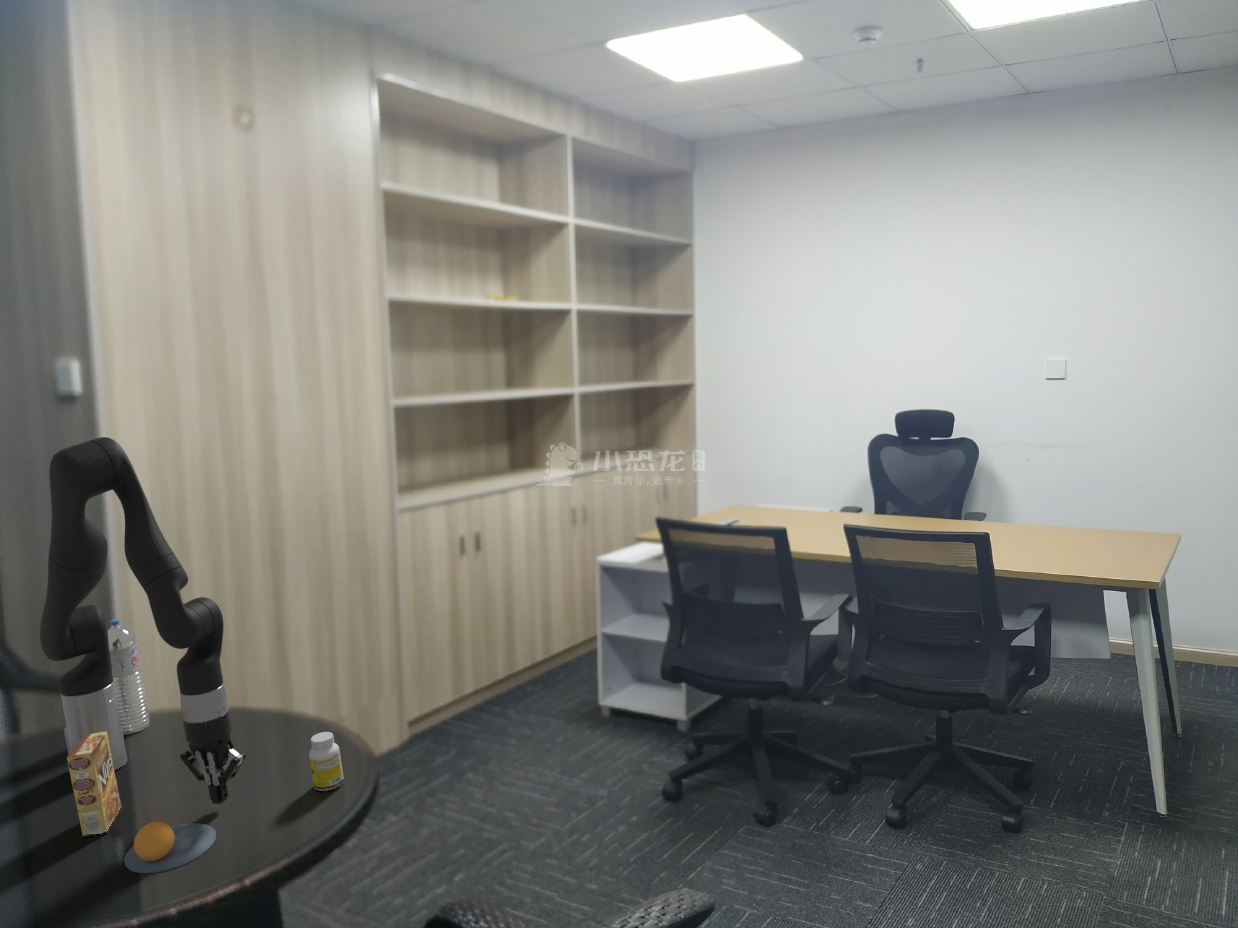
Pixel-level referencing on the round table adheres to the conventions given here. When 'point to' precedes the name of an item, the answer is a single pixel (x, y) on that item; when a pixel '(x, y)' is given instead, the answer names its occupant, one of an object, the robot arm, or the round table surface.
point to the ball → (154, 841)
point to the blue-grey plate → (176, 849)
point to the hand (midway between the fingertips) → (220, 801)
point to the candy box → (94, 783)
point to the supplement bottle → (325, 761)
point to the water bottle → (127, 679)
